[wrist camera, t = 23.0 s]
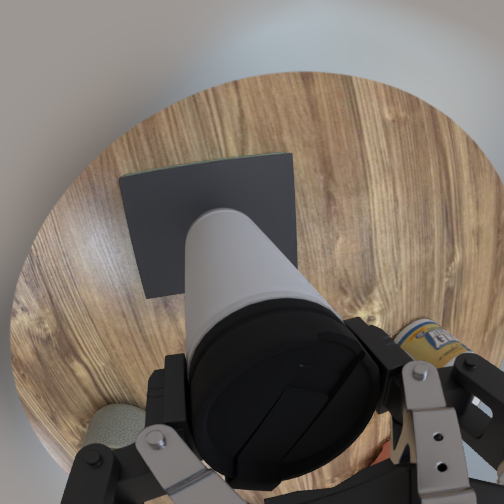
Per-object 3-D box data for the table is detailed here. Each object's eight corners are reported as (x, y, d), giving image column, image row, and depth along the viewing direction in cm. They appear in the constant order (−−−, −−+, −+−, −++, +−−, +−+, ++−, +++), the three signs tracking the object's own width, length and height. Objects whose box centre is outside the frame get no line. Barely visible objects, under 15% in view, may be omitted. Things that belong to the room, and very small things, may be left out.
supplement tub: (442, 312, 49) (505, 358, 33) (423, 366, 53) (474, 416, 37) (393, 320, 47) (459, 379, 31) (375, 379, 50) (425, 441, 34)
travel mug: (171, 265, 26) (160, 480, 8) (205, 194, 25) (260, 322, 6) (236, 292, 28) (316, 494, 10) (272, 226, 27) (428, 375, 8)
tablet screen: (120, 176, 30) (118, 178, 29) (289, 152, 33) (292, 153, 32) (146, 295, 35) (146, 299, 35) (295, 269, 38) (297, 273, 37)
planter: (96, 382, 40) (81, 434, 29) (173, 405, 43) (175, 460, 33) (87, 428, 42) (77, 476, 32) (154, 448, 46) (154, 496, 36)
